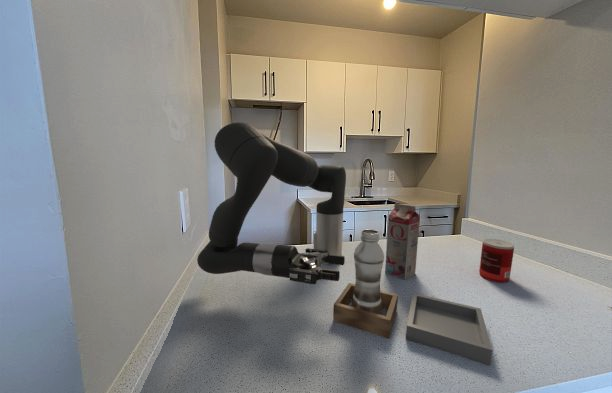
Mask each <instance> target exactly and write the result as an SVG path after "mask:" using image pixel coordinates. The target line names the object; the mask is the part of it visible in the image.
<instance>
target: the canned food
mask: <svg viewBox="0 0 612 393" xmlns="http://www.w3.org/2000/svg"><path fill="white" fill-rule="evenodd" d="M514 249H515V245H514V243H512V242H510V241H506V240H504V239H503V240H502V239H497V238H486V239H482V244H481V254H480V263H479V275H480V276H481V277H482V278H483V279H485V280H488V281H490V282H494V283H507V282H508V281H509V280H510V278H511V272H512V266H513V259H514V253H515V250H514Z"/></svg>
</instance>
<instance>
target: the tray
mask: <svg viewBox="0 0 612 393" xmlns="http://www.w3.org/2000/svg"><path fill="white" fill-rule="evenodd" d="M410 301H411V302H410V307H409V311H408V312H409V313H408V317H407V321H406V322H407V323H406V331H405V340H408V341H412V342H413V343H417V344H420V345H423V346H426V345H427V346H426V347H430V348H433V347H434V349H436V350H439V351H442V352H446V353H449V354H453V355H456V356H459V357H462V358H466V359H468V360H471V361H474V362H478V363H480V364H481V363H482V364H484V365H488V366H491V364H492V363H491V362H492V356H493V348H492V345H491V340H490V338H489V333H488V330H487V325H486V323H485V318H484V315H483V312H482V308H480V307H475V306H471V305H467V304H463V303H457V302H454V301H450V300H446V299H441V298H436V297H433V296H428V295H424V294H419V293H415V292H413V293H412V296H411V300H410Z"/></svg>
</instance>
